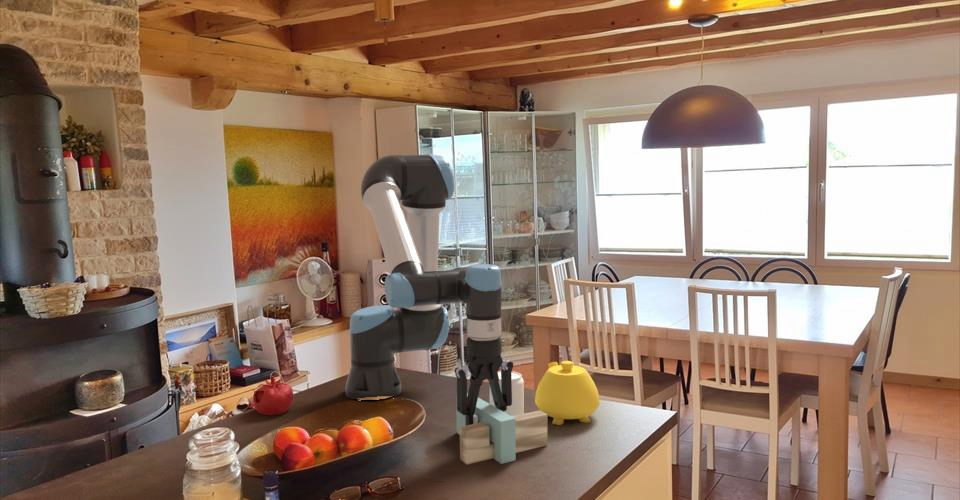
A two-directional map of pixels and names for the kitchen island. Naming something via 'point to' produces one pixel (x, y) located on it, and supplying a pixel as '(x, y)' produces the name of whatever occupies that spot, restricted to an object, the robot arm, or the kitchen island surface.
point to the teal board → (495, 429)
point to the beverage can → (513, 394)
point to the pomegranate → (273, 397)
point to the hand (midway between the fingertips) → (485, 440)
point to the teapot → (567, 393)
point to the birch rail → (481, 448)
